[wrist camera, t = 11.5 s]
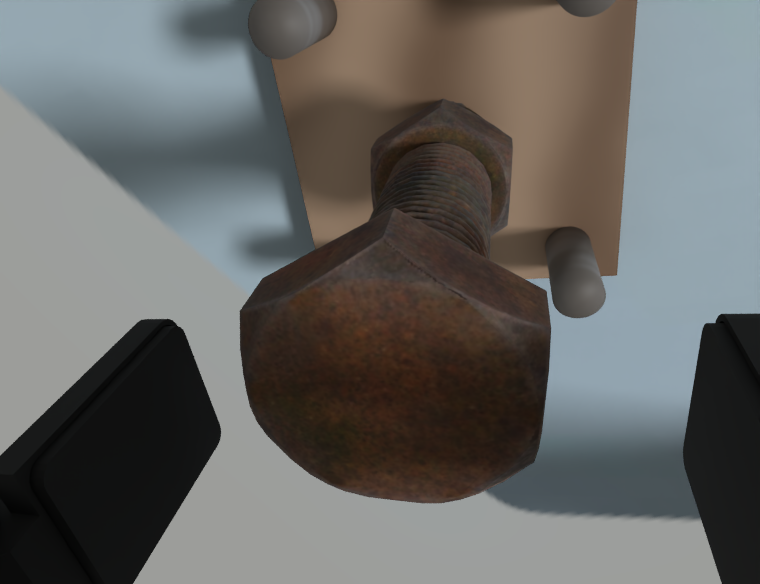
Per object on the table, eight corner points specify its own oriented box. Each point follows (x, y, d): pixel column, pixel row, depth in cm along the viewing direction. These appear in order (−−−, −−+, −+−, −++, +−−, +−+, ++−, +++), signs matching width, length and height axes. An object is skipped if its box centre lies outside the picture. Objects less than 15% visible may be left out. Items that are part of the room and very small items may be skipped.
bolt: (421, 224, 24) (335, 533, 11) (355, 122, 22) (169, 355, 10) (549, 159, 22) (620, 458, 9) (488, 38, 20) (470, 202, 7)
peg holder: (634, -92, 18) (679, -103, 14) (610, 258, 25) (635, 330, 20) (266, -27, 21) (201, -18, 17) (331, 270, 28) (298, 336, 23)
